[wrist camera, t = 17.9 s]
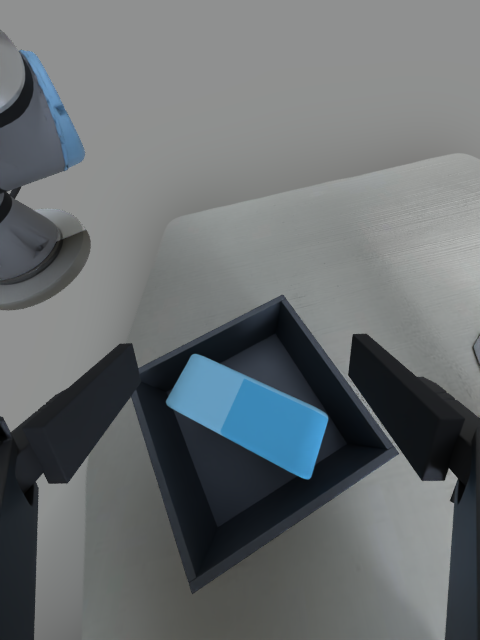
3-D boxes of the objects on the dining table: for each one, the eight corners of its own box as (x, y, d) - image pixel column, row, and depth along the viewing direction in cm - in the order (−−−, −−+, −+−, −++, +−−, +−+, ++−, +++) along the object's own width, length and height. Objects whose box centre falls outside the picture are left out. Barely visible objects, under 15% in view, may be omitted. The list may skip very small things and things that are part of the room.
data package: (197, 411, 29) (158, 401, 18) (214, 377, 30) (188, 348, 19) (291, 461, 26) (314, 485, 15) (305, 420, 27) (334, 415, 16)
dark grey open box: (162, 390, 31) (124, 375, 22) (276, 329, 33) (283, 294, 24) (215, 535, 24) (191, 594, 15) (353, 445, 26) (399, 453, 18)
